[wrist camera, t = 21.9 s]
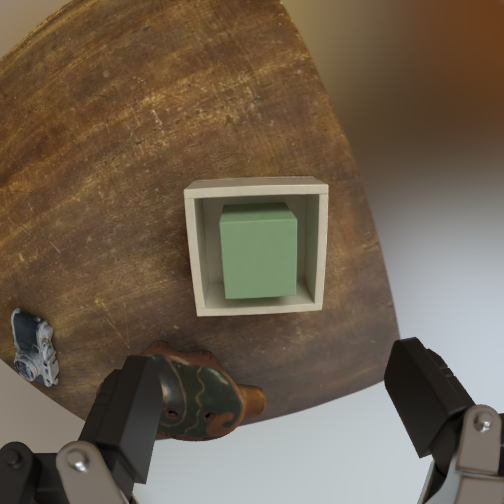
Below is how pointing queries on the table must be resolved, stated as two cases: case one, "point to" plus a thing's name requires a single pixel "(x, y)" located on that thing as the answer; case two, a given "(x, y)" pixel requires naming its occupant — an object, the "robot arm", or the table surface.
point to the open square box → (209, 249)
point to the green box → (258, 250)
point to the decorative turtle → (200, 395)
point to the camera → (34, 348)
